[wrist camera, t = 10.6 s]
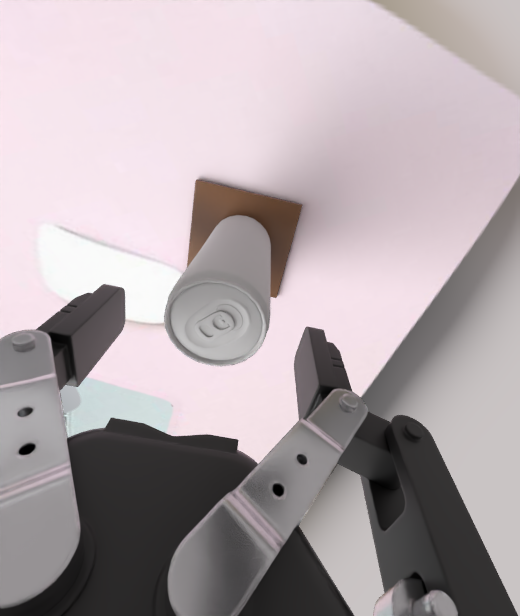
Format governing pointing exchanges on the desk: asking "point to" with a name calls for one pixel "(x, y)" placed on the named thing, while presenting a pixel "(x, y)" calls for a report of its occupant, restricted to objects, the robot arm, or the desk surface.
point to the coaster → (229, 202)
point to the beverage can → (223, 295)
